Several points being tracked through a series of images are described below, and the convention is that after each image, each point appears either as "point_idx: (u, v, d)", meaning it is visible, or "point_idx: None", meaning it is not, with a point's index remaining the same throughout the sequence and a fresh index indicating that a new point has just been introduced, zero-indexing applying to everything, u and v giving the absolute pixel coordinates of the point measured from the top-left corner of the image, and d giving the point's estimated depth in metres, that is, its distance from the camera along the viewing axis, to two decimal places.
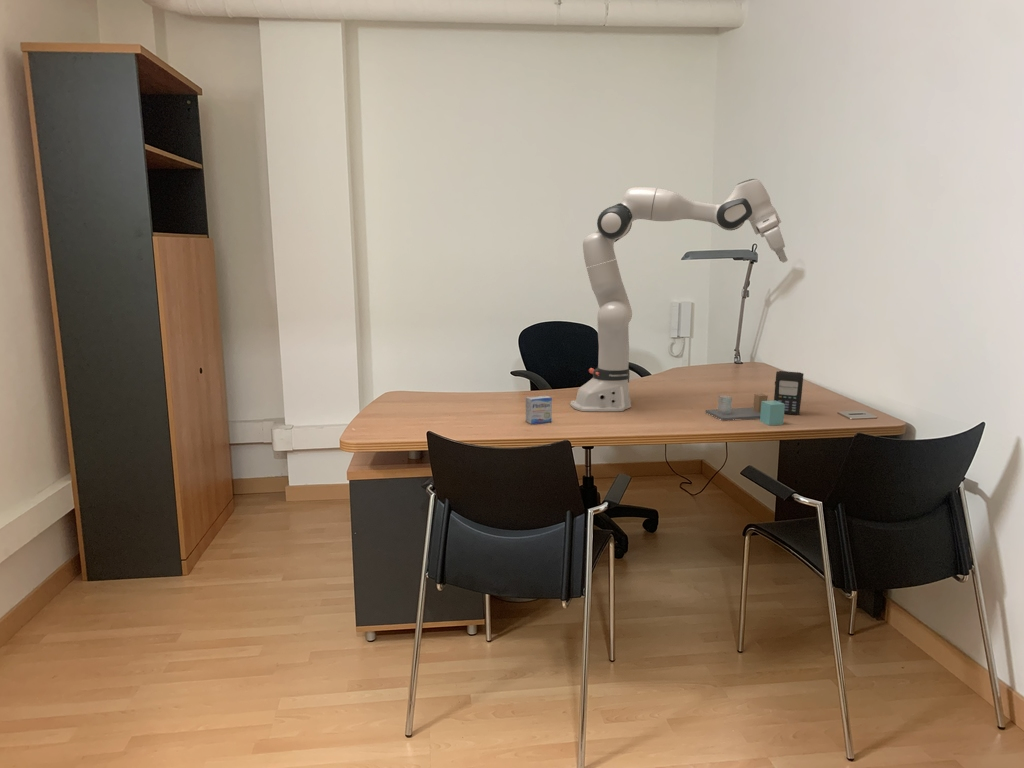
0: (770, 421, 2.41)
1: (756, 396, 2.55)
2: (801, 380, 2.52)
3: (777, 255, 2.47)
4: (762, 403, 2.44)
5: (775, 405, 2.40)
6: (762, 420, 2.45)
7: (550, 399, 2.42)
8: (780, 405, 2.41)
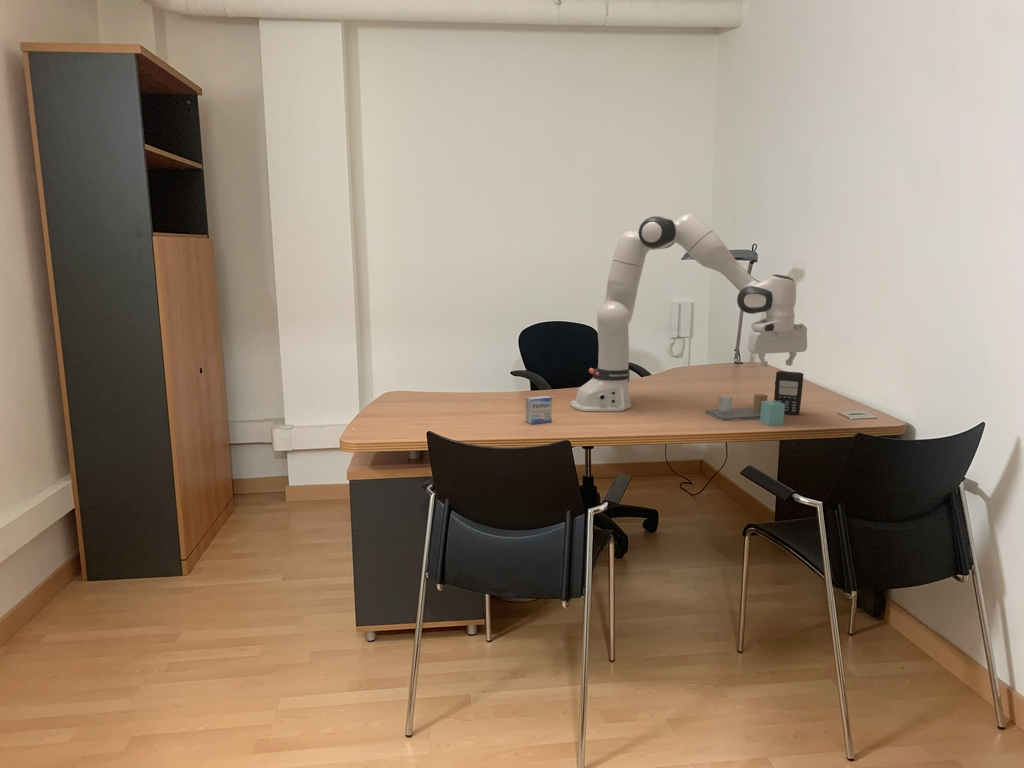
0: (770, 421, 2.41)
1: (756, 396, 2.55)
2: (801, 380, 2.52)
3: None
4: (762, 403, 2.44)
5: (775, 405, 2.40)
6: (762, 420, 2.45)
7: (550, 399, 2.42)
8: (780, 405, 2.41)
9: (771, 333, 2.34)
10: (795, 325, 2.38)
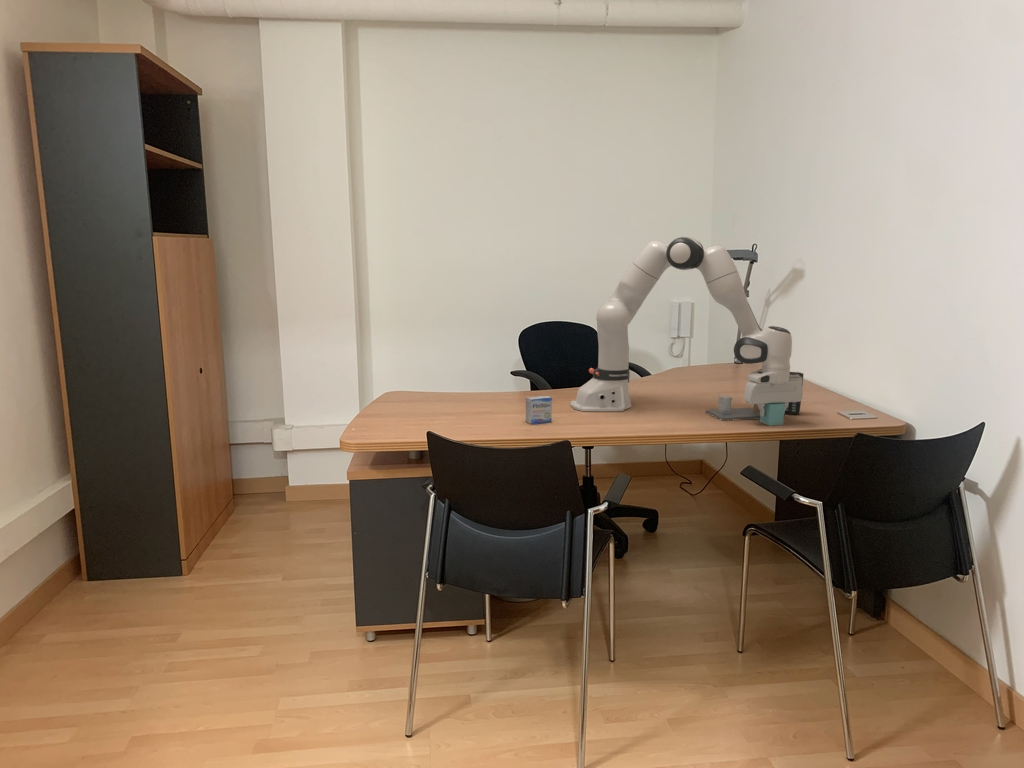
0: (770, 421, 2.41)
1: None
2: None
3: None
4: None
5: (775, 405, 2.40)
6: (762, 420, 2.45)
7: (550, 399, 2.42)
8: (780, 405, 2.41)
9: (767, 384, 2.38)
10: (791, 376, 2.42)
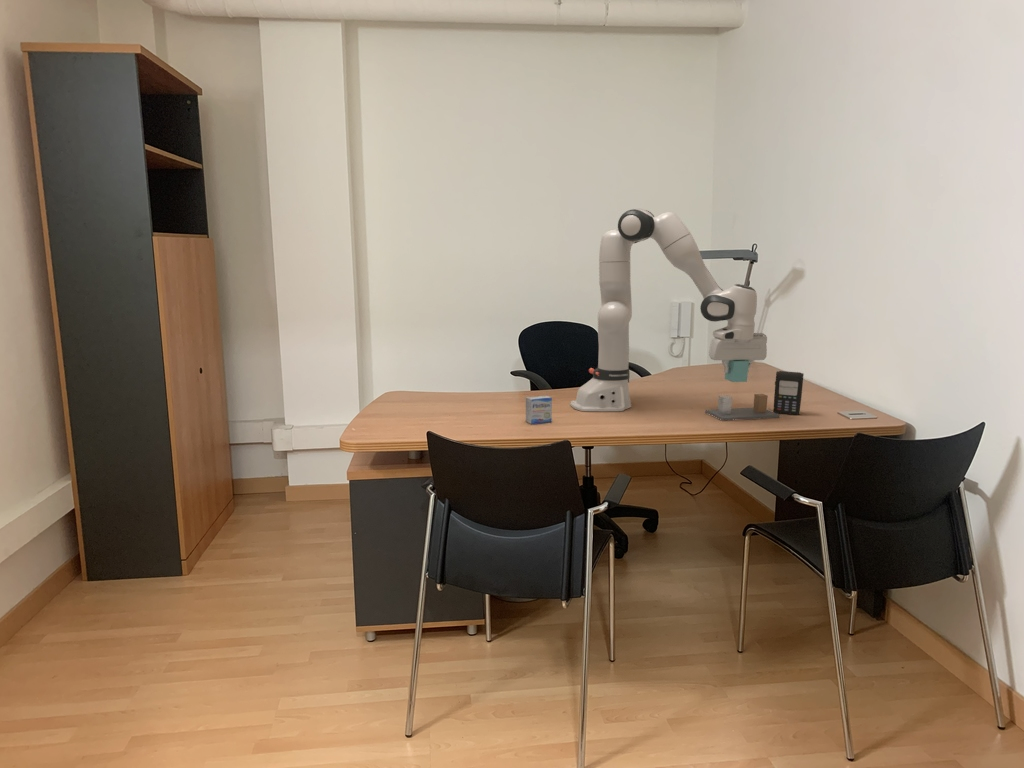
0: (734, 378, 2.45)
1: (756, 396, 2.55)
2: (801, 380, 2.52)
3: None
4: None
5: (739, 362, 2.44)
6: (726, 377, 2.49)
7: (550, 399, 2.42)
8: (744, 362, 2.45)
9: (731, 341, 2.42)
10: (755, 334, 2.46)
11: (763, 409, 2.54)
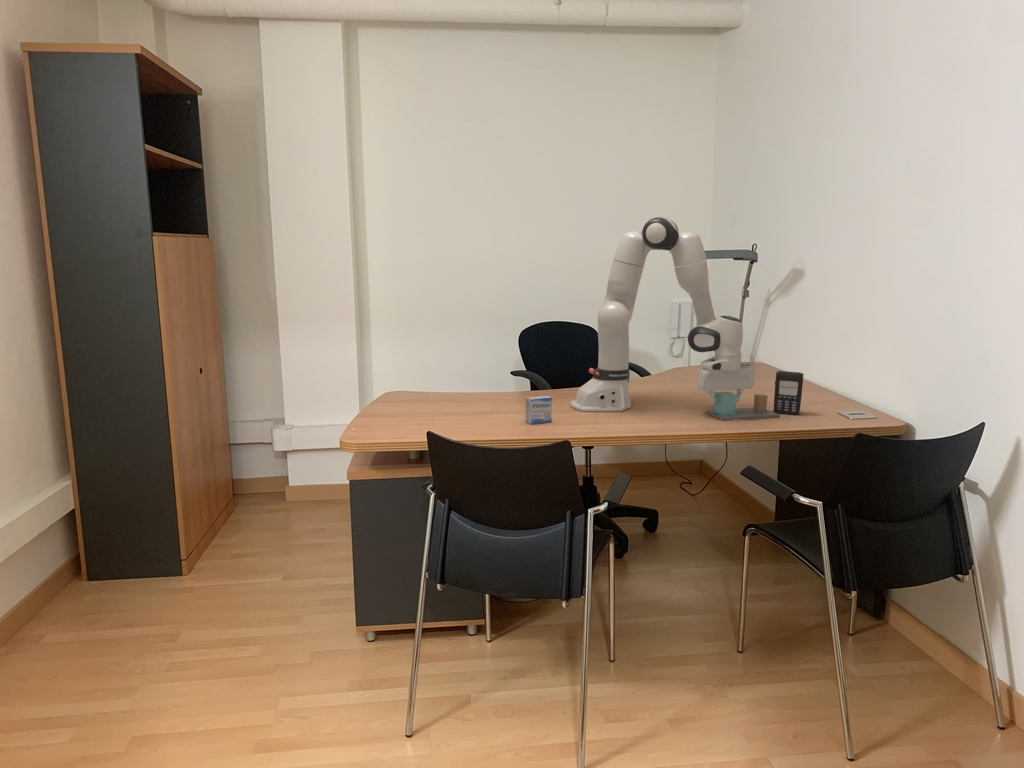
0: (722, 411, 2.50)
1: (756, 396, 2.55)
2: (801, 380, 2.52)
3: (736, 394, 2.54)
4: (715, 394, 2.53)
5: (727, 396, 2.49)
6: (715, 410, 2.53)
7: (550, 399, 2.42)
8: (732, 396, 2.49)
9: (719, 371, 2.46)
10: (742, 363, 2.50)
11: (763, 409, 2.54)
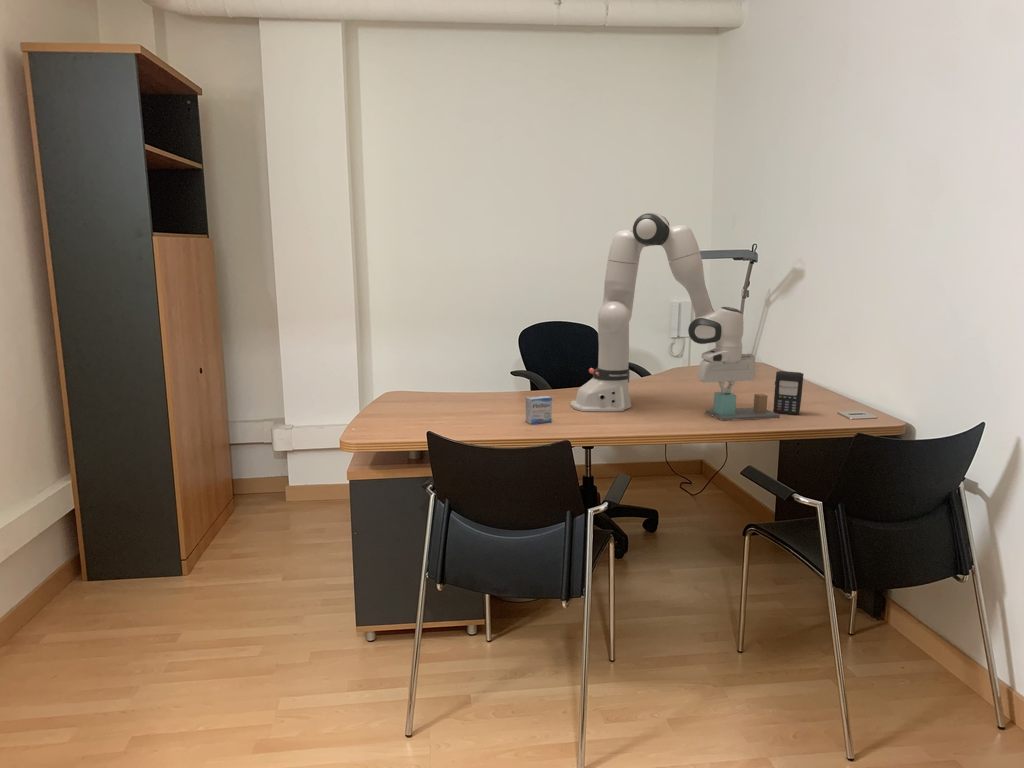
0: (722, 411, 2.50)
1: (756, 396, 2.55)
2: (801, 380, 2.52)
3: None
4: (715, 394, 2.53)
5: (727, 396, 2.49)
6: (715, 410, 2.53)
7: (550, 399, 2.42)
8: (732, 396, 2.49)
9: (719, 363, 2.45)
10: (743, 355, 2.50)
11: (763, 409, 2.54)
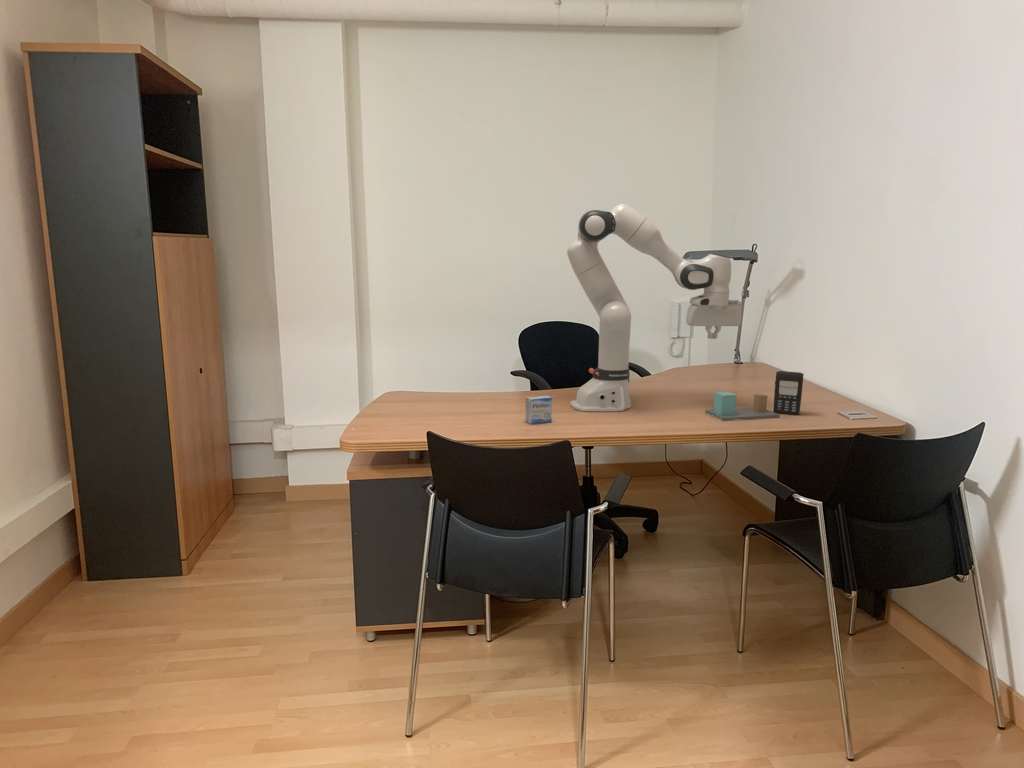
0: (722, 411, 2.50)
1: (756, 396, 2.55)
2: (801, 380, 2.52)
3: (714, 331, 2.60)
4: (715, 394, 2.53)
5: (727, 396, 2.49)
6: (715, 410, 2.53)
7: (550, 399, 2.42)
8: (732, 396, 2.49)
9: (706, 307, 2.54)
10: (730, 301, 2.58)
11: (763, 409, 2.54)
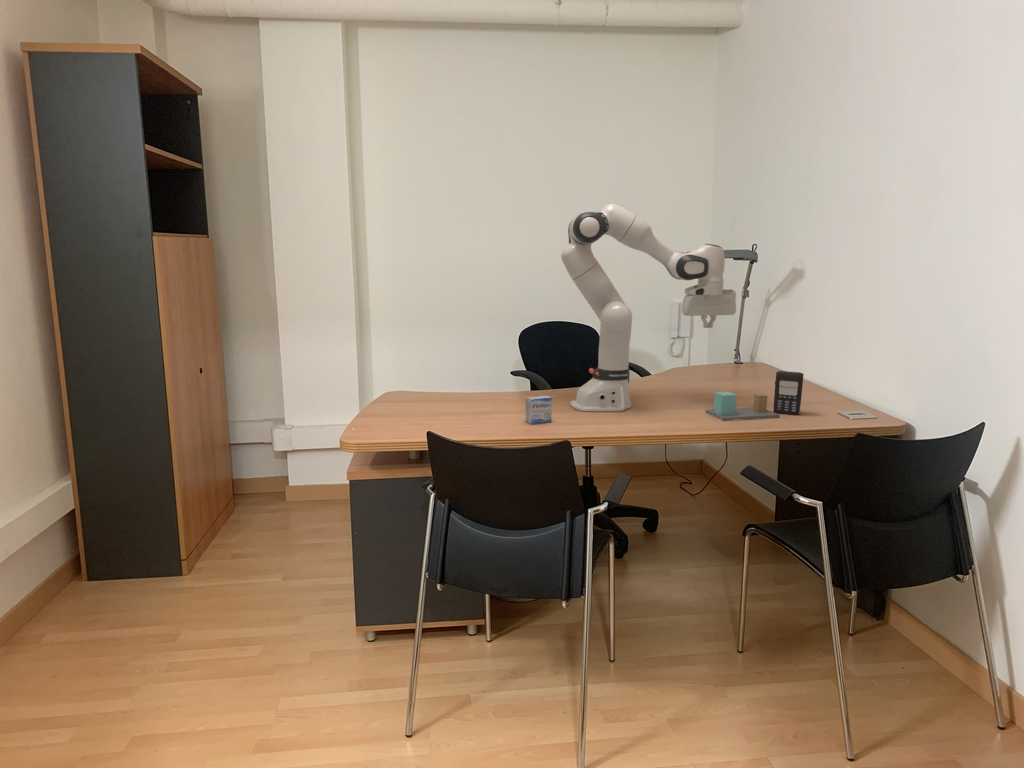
0: (722, 411, 2.50)
1: (756, 396, 2.55)
2: (801, 380, 2.52)
3: (710, 320, 2.64)
4: (715, 394, 2.53)
5: (727, 396, 2.49)
6: (715, 410, 2.53)
7: (550, 399, 2.42)
8: (732, 396, 2.49)
9: (701, 297, 2.58)
10: (725, 290, 2.62)
11: (763, 409, 2.54)
